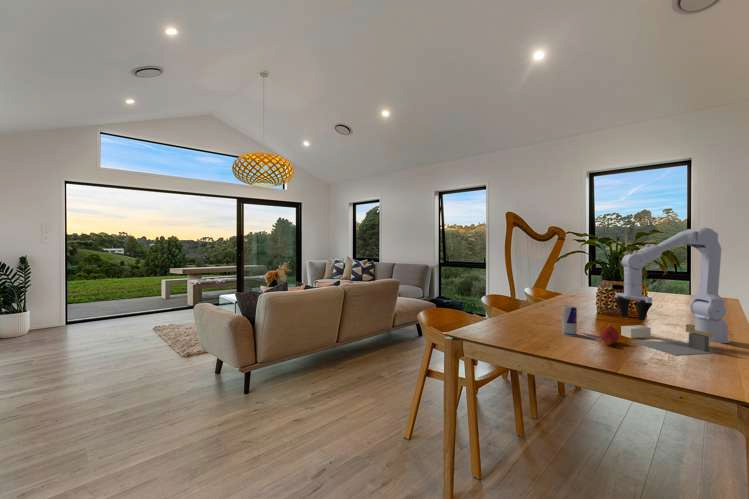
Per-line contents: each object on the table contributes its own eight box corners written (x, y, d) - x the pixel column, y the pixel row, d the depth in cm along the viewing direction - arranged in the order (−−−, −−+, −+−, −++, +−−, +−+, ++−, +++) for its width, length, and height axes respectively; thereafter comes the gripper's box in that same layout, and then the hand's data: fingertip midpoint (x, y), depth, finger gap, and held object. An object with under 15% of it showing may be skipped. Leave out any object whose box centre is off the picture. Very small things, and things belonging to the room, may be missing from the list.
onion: (596, 343, 134) (596, 322, 134) (610, 342, 134) (610, 322, 134) (607, 347, 128) (608, 325, 128) (622, 347, 129) (622, 325, 128)
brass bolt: (690, 331, 126) (690, 324, 126) (715, 336, 118) (715, 329, 118) (685, 331, 126) (685, 324, 126) (710, 337, 118) (710, 329, 118)
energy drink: (578, 337, 143) (578, 307, 143) (564, 336, 144) (564, 307, 144) (573, 333, 148) (574, 305, 148) (560, 333, 149) (560, 305, 149)
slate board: (667, 341, 137) (667, 325, 137) (720, 355, 119) (720, 337, 119) (627, 343, 134) (627, 327, 134) (675, 357, 116) (675, 339, 116)
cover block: (640, 337, 143) (640, 325, 143) (650, 340, 139) (650, 327, 139) (621, 338, 142) (621, 326, 142) (630, 341, 137) (630, 328, 137)
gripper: (609, 282, 146) (609, 315, 146) (641, 286, 132) (641, 322, 132) (623, 282, 148) (623, 314, 148) (656, 286, 133) (656, 321, 133)
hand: (632, 318), depth 140 cm, fingers open, 7 cm apart
